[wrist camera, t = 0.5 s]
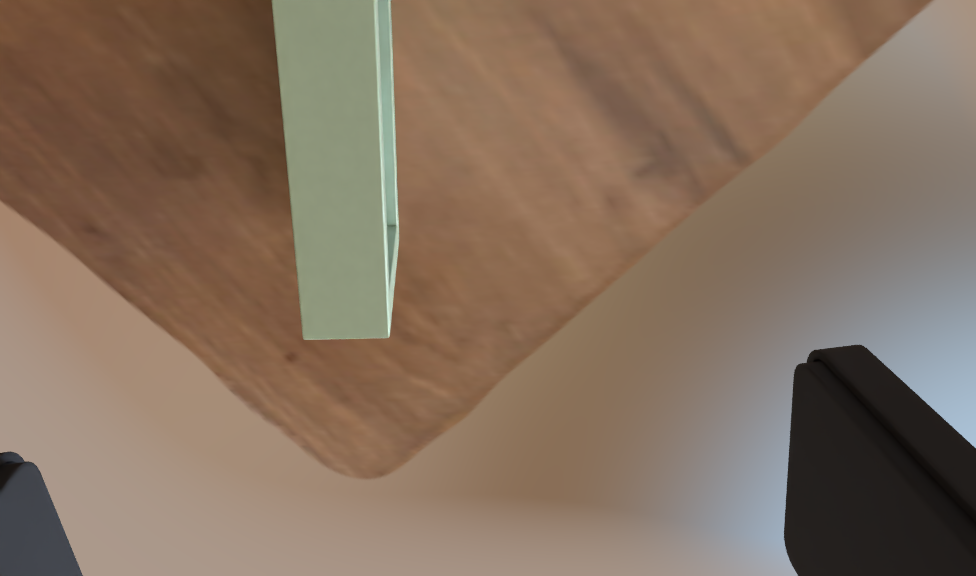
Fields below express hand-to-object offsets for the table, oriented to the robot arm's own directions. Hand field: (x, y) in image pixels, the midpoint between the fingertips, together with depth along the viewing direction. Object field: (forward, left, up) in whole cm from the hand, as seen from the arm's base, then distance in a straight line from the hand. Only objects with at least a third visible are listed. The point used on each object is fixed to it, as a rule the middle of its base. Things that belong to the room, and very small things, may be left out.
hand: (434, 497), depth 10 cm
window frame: (-3, -2, -34) cm, 34 cm away
